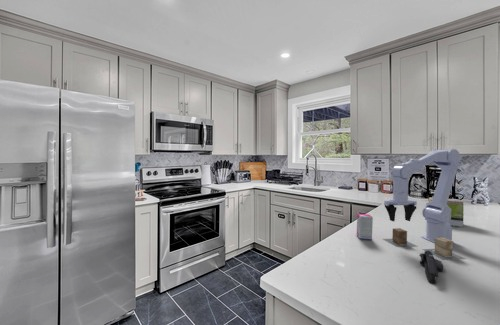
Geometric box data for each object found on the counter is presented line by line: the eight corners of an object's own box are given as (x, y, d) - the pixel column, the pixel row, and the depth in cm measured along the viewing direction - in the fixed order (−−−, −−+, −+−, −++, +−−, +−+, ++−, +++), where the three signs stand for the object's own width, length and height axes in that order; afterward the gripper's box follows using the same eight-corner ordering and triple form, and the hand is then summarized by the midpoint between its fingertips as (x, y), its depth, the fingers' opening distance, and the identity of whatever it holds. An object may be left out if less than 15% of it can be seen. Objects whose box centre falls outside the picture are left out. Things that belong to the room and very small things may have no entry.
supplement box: (372, 240, 108) (373, 216, 108) (359, 239, 109) (359, 216, 109) (368, 236, 114) (369, 213, 113) (356, 235, 115) (356, 213, 115)
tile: (401, 238, 111) (401, 238, 111) (418, 246, 101) (418, 246, 101) (382, 239, 110) (382, 238, 110) (397, 247, 100) (397, 247, 100)
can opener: (418, 261, 87) (419, 246, 87) (442, 266, 83) (442, 251, 83) (418, 281, 73) (418, 264, 73) (446, 288, 69) (446, 270, 69)
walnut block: (400, 240, 108) (400, 228, 107) (406, 244, 104) (407, 231, 103) (392, 241, 107) (392, 228, 107) (398, 244, 103) (398, 231, 103)
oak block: (441, 251, 96) (442, 237, 96) (452, 255, 92) (452, 240, 92) (434, 252, 95) (434, 238, 94) (444, 256, 91) (445, 241, 91)
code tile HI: (443, 248, 99) (443, 248, 99) (466, 259, 89) (466, 259, 89) (421, 249, 98) (421, 249, 98) (443, 260, 88) (443, 259, 88)
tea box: (459, 223, 138) (459, 199, 137) (463, 227, 129) (464, 201, 129) (428, 219, 146) (428, 196, 145) (430, 223, 137) (430, 199, 137)
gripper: (391, 193, 100) (391, 223, 101) (422, 192, 101) (421, 222, 102) (381, 190, 107) (380, 219, 108) (410, 190, 108) (409, 218, 109)
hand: (399, 220), depth 105 cm, fingers open, 7 cm apart
